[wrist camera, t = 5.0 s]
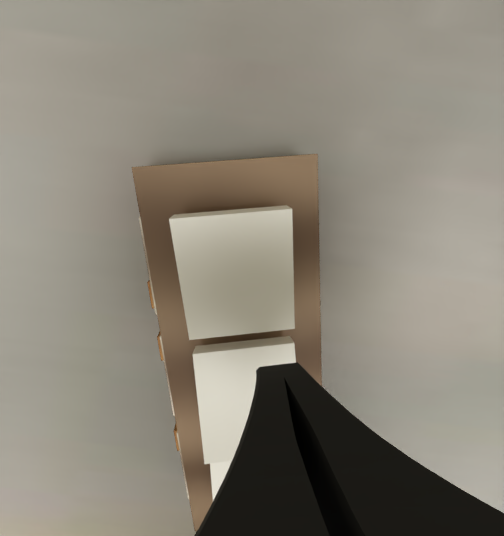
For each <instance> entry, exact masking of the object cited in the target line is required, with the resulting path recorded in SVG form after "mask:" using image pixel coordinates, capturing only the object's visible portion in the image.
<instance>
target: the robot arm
mask: <svg viewBox="0 0 504 536" xmlns="http://www.w3.org/2000/svg"><path fill="white" fill-rule="evenodd" d="M195 536H504V513H503V512H501V511H499V510H497V509H495V508H493V507H491V506H490V505H488V504H486V503H484V502H482V501H481V500H479V499H477V498H475V497H474V496H472V495H470V494H468V493H467V492H465V491H463V490H461V489H460V488H458V487H456V486H455V485H453V484H451V483H450V482H448V481H447V480H445V479H443V478H442V477H440V476H438V475H437V474H435V473H433V472H432V471H430V470H428V469H427V468H425V467H424V466H422V465H421V464H419V463H418V462H416V461H414V460H413V459H411V458H410V457H408V456H407V455H405V454H404V453H403V452H401V451H400V450H398V449H397V448H396V447H394V446H393V445H391V444H390V443H388V442H387V441H386V440H384V439H383V438H381V437H380V436H379V435H377V434H376V433H375V432H373V431H372V430H371V429H370V428H368V427H367V426H366V425H365V424H363V423H362V422H361V421H360V420H359V419H357V418H356V417H355V416H354V415H352V414H351V413H350V412H349V411H348V410H347V409H346V408H344V407H343V406H342V405H341V404H340V403H339V402H338V401H337V400H336V399H334V398H333V397H332V396H331V395H330V394H329V393H328V392H327V391H326V390H325V389H324V388H323V387H322V386H321V385H320V384H319V383H318V382H317V381H316V380H315V379H314V378H313V377H312V376H311V375H310V374H309V373H308V372H307V371H306V370H305V369H304V368H303V367H302V366H301V365H300V364H299V363H298V362H296V363H288V364H279V365H271V366H263V367H259V368H258V369H257V370H256V385H255V391H254V396H253V400H252V404H251V408H250V412H249V415H248V419H247V422H246V425H245V428H244V430H243V433H242V436H241V439H240V442H239V445H238V447H237V450H236V452H235V455H234V457H233V460H232V462H231V464H230V467H229V469H228V471H227V473H226V476H225V478H224V480H223V482H222V484H221V486H220V488H219V490H218V492H217V494H216V496H215V498H214V500H213V502H212V504H211V506H210V508H209V510H208V512H207V514H206V516H205V518H204V520H203V521H202V523H201V525H200V527H199V529H198V531H197V532H196V534H195Z"/></svg>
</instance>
